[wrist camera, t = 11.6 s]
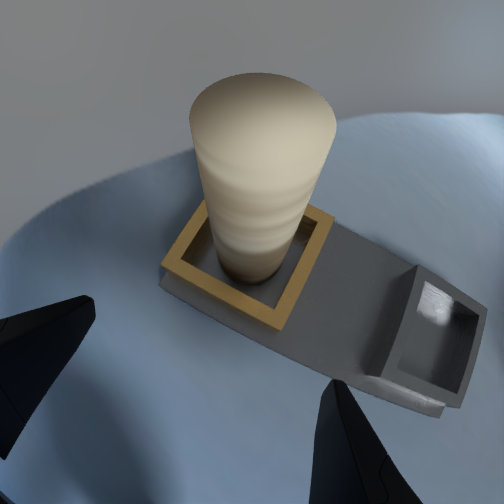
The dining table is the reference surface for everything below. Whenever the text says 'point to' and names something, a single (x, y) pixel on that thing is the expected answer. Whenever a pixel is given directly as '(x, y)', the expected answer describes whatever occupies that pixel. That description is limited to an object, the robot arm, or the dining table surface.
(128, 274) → the dining table surface
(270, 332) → the grey socket board
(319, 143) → the peg
